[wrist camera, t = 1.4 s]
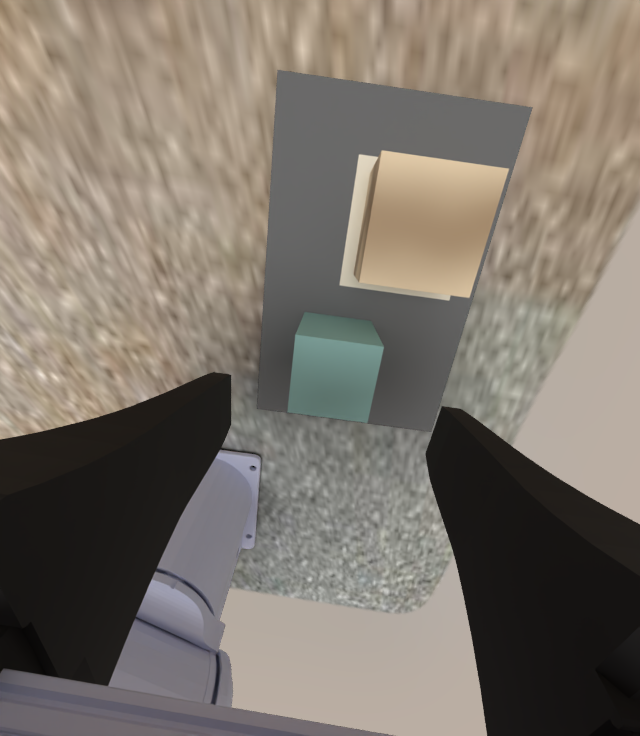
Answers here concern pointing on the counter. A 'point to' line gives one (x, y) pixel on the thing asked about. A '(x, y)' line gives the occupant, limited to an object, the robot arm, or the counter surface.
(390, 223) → the maple block
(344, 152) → the mat
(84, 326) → the counter surface
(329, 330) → the teal block
